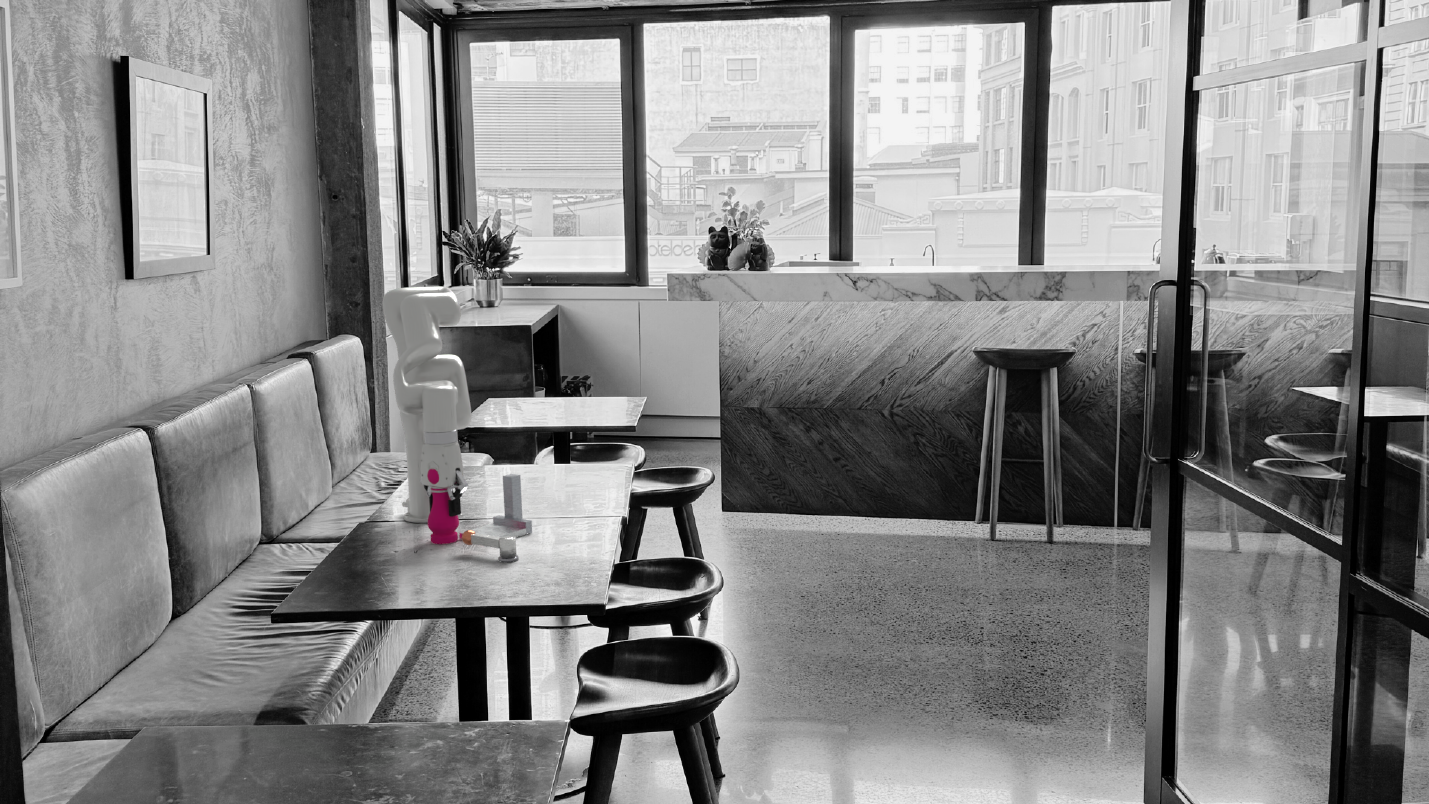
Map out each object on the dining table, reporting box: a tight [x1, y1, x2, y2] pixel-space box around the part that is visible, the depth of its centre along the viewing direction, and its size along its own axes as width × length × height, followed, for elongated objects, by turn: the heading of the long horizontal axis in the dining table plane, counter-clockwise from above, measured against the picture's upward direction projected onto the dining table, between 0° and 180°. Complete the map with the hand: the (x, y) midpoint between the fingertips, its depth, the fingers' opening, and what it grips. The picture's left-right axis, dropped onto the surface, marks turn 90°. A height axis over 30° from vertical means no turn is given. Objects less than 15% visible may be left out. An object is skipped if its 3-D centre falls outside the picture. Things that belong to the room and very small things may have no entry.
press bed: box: [458, 473, 533, 563], centre depth 271 cm, size 26×26×13 cm
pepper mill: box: [427, 469, 460, 545], centre depth 274 cm, size 7×7×20 cm
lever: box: [461, 529, 518, 558], centre depth 260 cm, size 16×4×4 cm, turn 55°
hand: (445, 513), depth 275 cm, fingers closed on pepper mill, 5 cm apart
